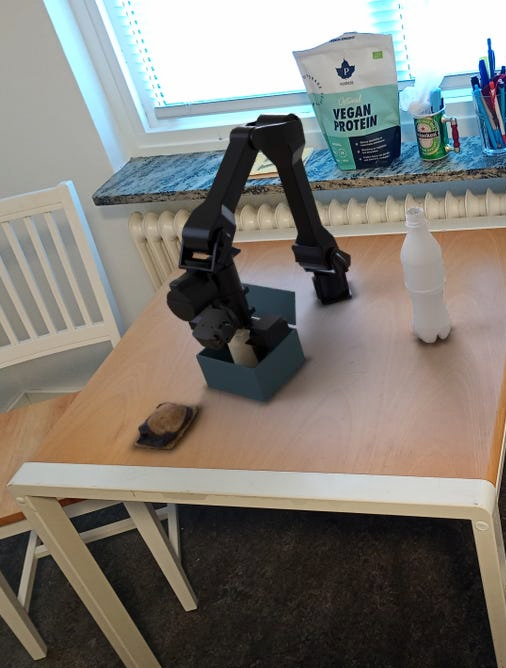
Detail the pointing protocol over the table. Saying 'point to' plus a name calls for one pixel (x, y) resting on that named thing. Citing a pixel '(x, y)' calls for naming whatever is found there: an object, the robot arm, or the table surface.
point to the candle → (242, 350)
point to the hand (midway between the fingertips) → (250, 361)
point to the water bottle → (424, 278)
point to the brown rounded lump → (165, 426)
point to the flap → (272, 302)
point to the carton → (250, 381)
